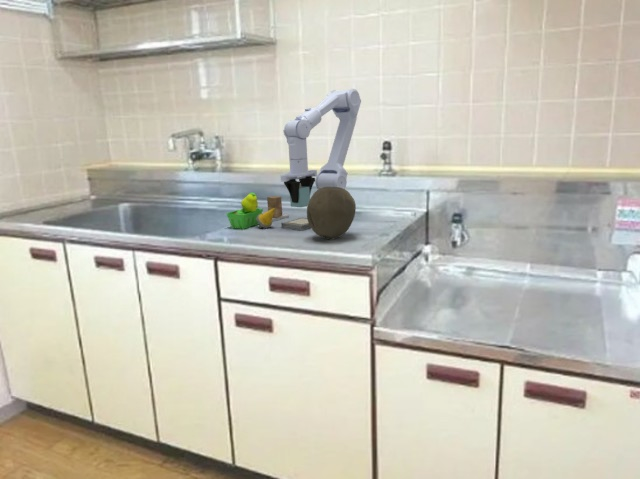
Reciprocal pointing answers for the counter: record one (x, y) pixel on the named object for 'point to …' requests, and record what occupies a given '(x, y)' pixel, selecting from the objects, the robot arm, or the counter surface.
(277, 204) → the brown tall block
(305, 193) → the block
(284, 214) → the track
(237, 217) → the fruit basket
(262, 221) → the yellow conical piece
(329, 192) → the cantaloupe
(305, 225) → the press bed
